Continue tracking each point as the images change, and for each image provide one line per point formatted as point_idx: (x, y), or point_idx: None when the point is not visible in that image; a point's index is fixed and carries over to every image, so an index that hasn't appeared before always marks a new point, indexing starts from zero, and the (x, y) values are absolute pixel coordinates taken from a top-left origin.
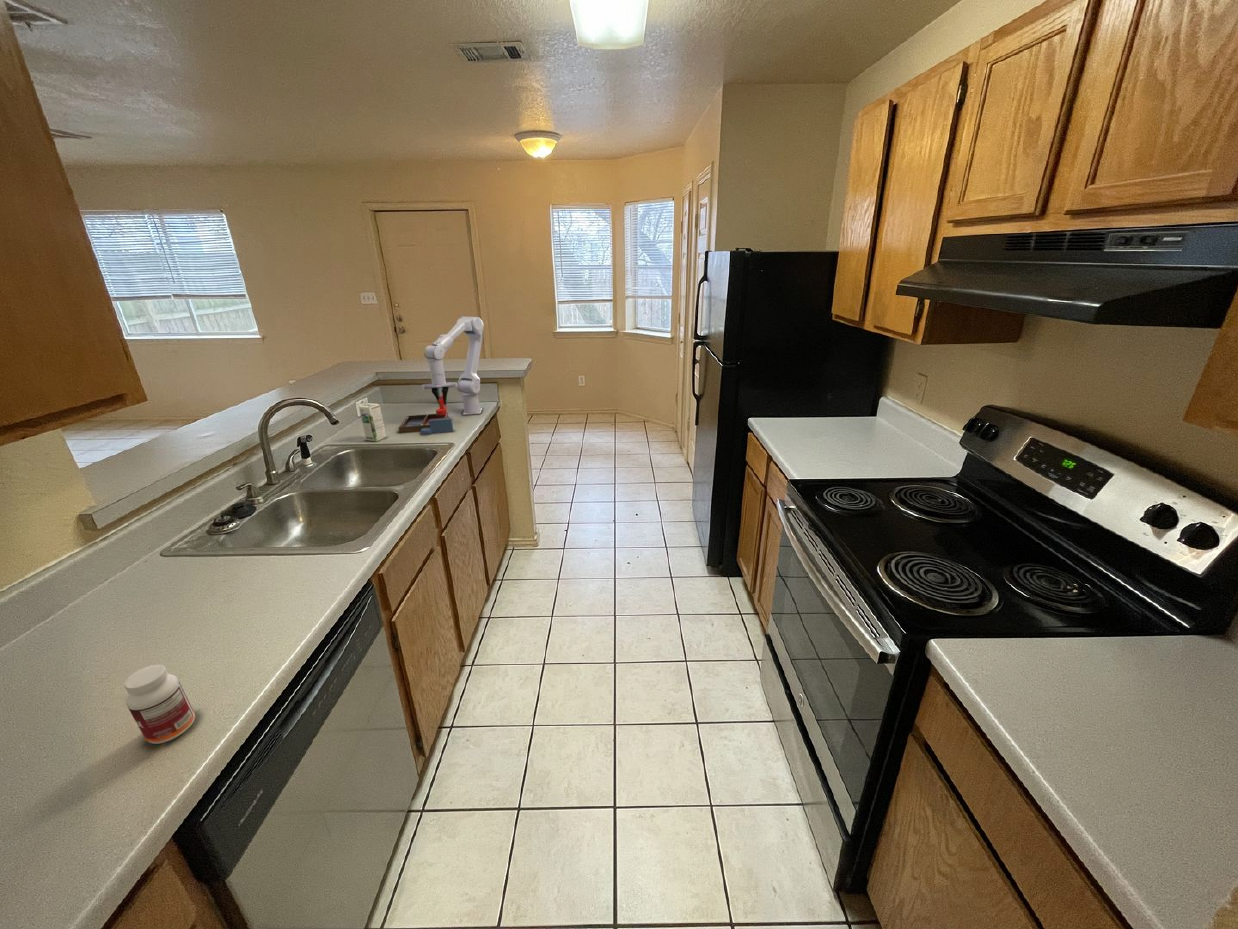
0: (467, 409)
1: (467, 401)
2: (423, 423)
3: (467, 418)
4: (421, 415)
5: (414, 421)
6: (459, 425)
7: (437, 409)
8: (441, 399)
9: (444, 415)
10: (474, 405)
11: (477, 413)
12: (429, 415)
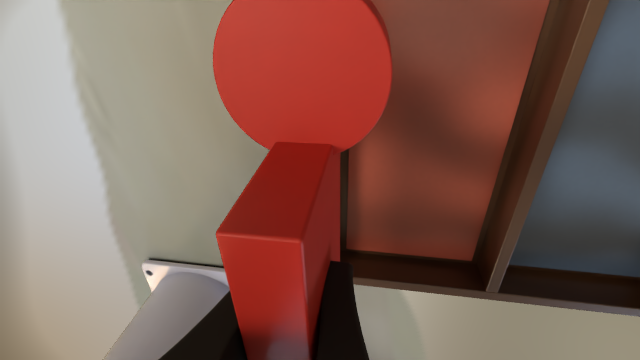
0: (200, 299)
1: (158, 352)
2: (566, 45)
3: (194, 201)
4: (544, 295)
5: (612, 231)
6: (196, 30)
7: (365, 110)
8: (243, 274)
9: (354, 264)
10: (140, 315)
11: (156, 262)
12: (473, 284)
